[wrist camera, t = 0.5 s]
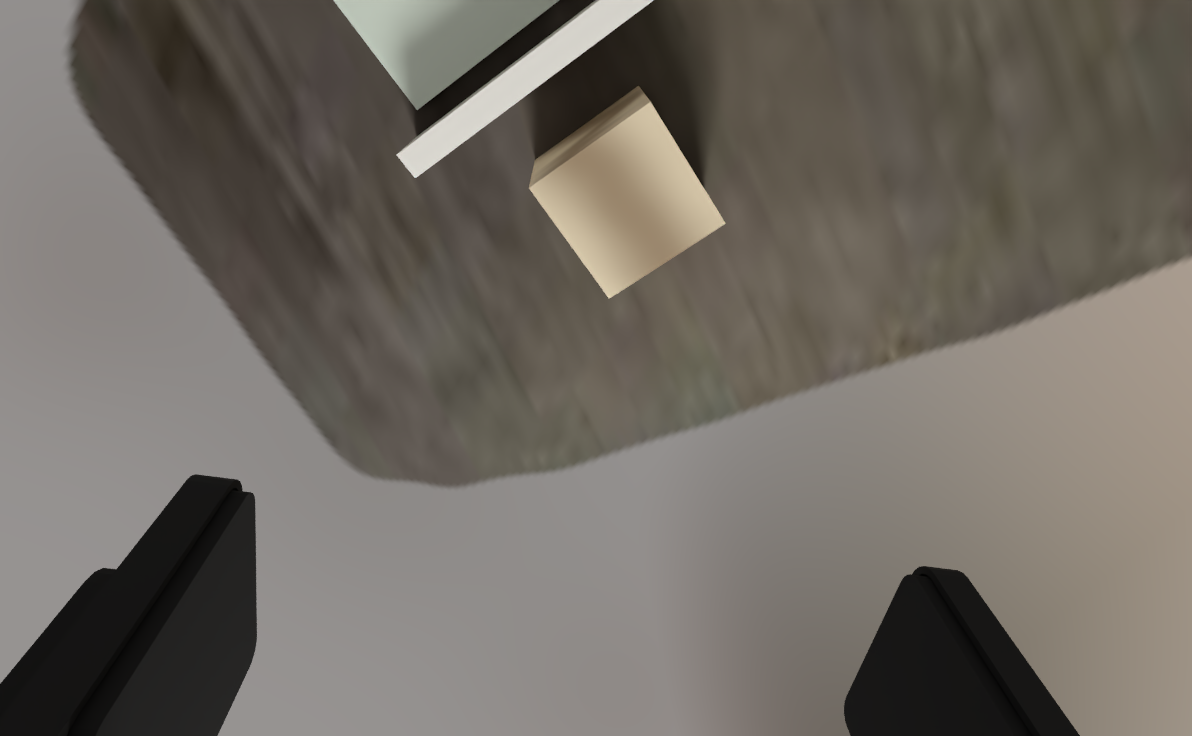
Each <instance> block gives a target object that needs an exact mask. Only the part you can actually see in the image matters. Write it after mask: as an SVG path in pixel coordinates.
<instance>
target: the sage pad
mask: <svg viewBox="0 0 1192 736" xmlns="http://www.w3.org/2000/svg"><path fill="white" fill-rule="evenodd" d="M558 1H559V0H334V2H335V3H336V4H337V5H338V7H339V8H340V9H341V11H342V12H343V13H344V15H345V16H346V17H347V19H348V20H349V21H350V23H351V24H352V25H353V27H354V28H355V29H356V30H357V32H358V33H359V34H360V36H361V37H362V38H363V40H364V41H365V42H366V44H367V45H368V46H369V48H370V49H371V50H372V52H373V53H374V54H375V56H376V57H377V58H378V59H379V61H380V62H381V63H382V65H383V66H384V67H385V69H386V70H387V71H388V73H389V74H390V75H391V77H392V78H393V79H394V81H395V82H396V83H397V84H398V86H399V87H400V88H401V90H402V91H403V92H404V94H405V95H406V96H407V98H408V99H409V100H410V102H411V103H412V104H413V106H414V107H415V108H416V109H417V110H418V109H419V108H421V107H422V106H423V105H425V104H426V103H427V102H428V101H430V100H431V99H432V98H434V97H435V96H436V95H438V94H439V93H440V92H441V91H443V90H444V89H445V88H447V87H448V86H449V85H450V84H452V83H453V82H454V81H456V80H457V79H458V78H459V77H461V76H462V75H463V74H465V73H466V72H467V71H469V70H470V69H471V68H472V67H474V66H475V65H476V64H478V63H479V62H480V61H481V60H483V59H484V58H485V57H487V56H488V55H489V54H491V53H492V52H493V51H494V50H496V49H497V48H498V47H500V46H501V45H502V44H503V43H505V42H506V41H507V40H509V39H510V38H511V37H512V36H514V35H515V34H516V33H518V32H519V31H520V30H522V29H523V28H524V27H525V26H527V25H528V24H529V23H531V22H532V21H533V20H534V19H536V18H537V17H538V16H540V15H541V14H542V13H544V12H545V11H546V10H547V9H549V8H550V7H551V6H553V5H554V4H555V3H556V2H558Z"/></svg>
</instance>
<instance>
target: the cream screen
mask: <svg viewBox="0 0 1192 736" xmlns="http://www.w3.org/2000/svg"><path fill="white" fill-rule="evenodd" d="M652 1H653V0H595V1H594V2H592V3H591V4H590V5H588V6H587V7H586V8H584V9H583V10H582V11H580V12H579V13H578V14H577V15H575V16H574V17H573V18H571V19H570V20H569V21H567V22H566V23H565V24H563V25H562V26H561V27H560V28H558V29H557V30H556V31H554V32H553V33H552V34H550V35H549V36H548V37H546V38H545V39H544V40H542V41H541V42H540V43H539V44H537V45H536V46H535V47H533V48H532V49H531V50H529V51H528V52H527V53H525V54H524V55H523V56H522V57H520V58H519V59H518V60H516V61H515V62H514V63H512V64H511V65H510V66H508V67H507V68H506V69H504V70H503V71H502V72H501V73H499V74H498V75H497V76H495V77H494V78H493V79H491V80H490V81H489V82H487V83H486V84H485V85H484V86H482V87H481V88H480V89H478V90H477V91H476V92H474V93H473V94H472V95H470V96H469V97H468V98H466V99H465V100H464V101H463V102H461V103H460V104H459V105H457V106H456V107H455V108H453V109H452V110H451V111H449V112H448V113H447V114H446V115H444V116H443V117H442V118H440V119H439V120H438V121H436V122H435V123H434V124H432V125H431V126H430V127H428V128H427V129H426V130H425V131H423V132H422V133H421V134H419V135H418V136H417V137H416V138H414V139H413V140H412V141H411V142H410V143H409V144H408V145H407V146H406V147H405V148H403V149H402V150H401V151H400V152H399V153H398V154H397V156H398V157H399V159H400V160H401V161H402V162H403V164H404V165H405V166H406V167H407V169H408V170H409V171H410V173H411V174H412V175H413V176H414V178H416V177H418V176H419V175H420V174H422V173H423V172H424V171H426V170H427V169H428V168H430V167H431V166H432V165H434V164H435V163H436V162H438V161H439V160H440V159H442V158H443V157H444V156H446V155H447V154H448V153H450V152H451V151H452V150H454V149H455V148H457V147H458V146H459V145H461V144H462V143H463V142H465V141H466V140H467V139H469V138H470V137H471V136H473V135H474V134H475V133H477V132H478V131H479V130H481V129H482V128H483V127H485V126H486V125H487V124H489V123H490V122H491V121H493V120H494V119H495V118H497V117H498V116H499V115H501V114H502V113H503V112H505V111H506V110H507V109H509V108H510V107H511V106H513V105H514V104H515V103H517V102H518V101H519V100H521V99H522V98H524V97H525V96H526V95H528V94H529V93H530V92H532V91H533V90H534V89H536V88H537V87H538V86H540V85H541V84H542V83H544V82H545V81H546V80H548V79H549V78H550V77H552V76H553V75H554V74H556V73H557V72H558V71H560V70H561V69H562V68H564V67H565V66H566V65H568V64H569V63H570V62H572V61H573V60H574V59H576V58H577V57H578V56H580V55H581V54H582V53H584V52H585V51H586V50H588V49H589V48H590V47H592V46H593V45H595V44H596V43H597V42H599V41H600V40H601V39H603V38H604V37H605V36H607V35H608V34H609V33H611V32H612V31H613V30H615V29H616V28H617V27H619V26H620V25H621V24H623V23H624V22H625V21H627V20H628V19H629V18H631V17H632V16H633V15H635V14H636V13H637V12H639V11H640V10H641V9H643V8H644V7H645V6H647V5H648V4H649V3H651V2H652Z"/></svg>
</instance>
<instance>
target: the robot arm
mask: <svg viewBox="0 0 1192 736" xmlns="http://www.w3.org/2000/svg"><path fill="white" fill-rule="evenodd" d="M256 622H257V617H256V533H255V497H254V495H253V493H251V492H243V491H242V485H241V483H240V481H238V480H235V479H228V478H220V477H211V476H204V475H192V476H191V477H190V478H188V479H187V480H186V482H185V483H184V484H183V486H182V487H181V488H180V490H179V491H178V492H177V493H176V494H175V496H174V497H173V498H172V500H171V501H170V502H169V503H168V505H167V506H166V507H165V508H164V510H163V511H162V512H161V514H160V515H159V516H158V518H157V519H156V520H155V521H154V522H153V524H152V525H151V526H150V528H149V529H148V530H147V531H146V533H145V534H144V535H143V536H142V538H141V539H140V540H139V541H138V543H137V544H136V545H135V547H134V548H133V549H132V550H131V552H130V553H129V554H128V556H127V557H126V558H125V559H124V561H123V562H122V563H121V564H120V566H119V567H118V568H117V569H107V568H102V569H100V570H98V571H96V572H94V573H93V574H92V575H91V576H90V577H89V578H88V579H87V580H86V581H85V582H84V583H83V585H82V586H81V587H80V588H79V589H78V590H77V592H76V593H75V594H74V595H73V596H72V598H71V599H70V600H69V601H68V603H67V604H66V605H65V606H64V607H63V609H62V610H61V611H60V612H59V613H58V615H57V616H56V617H55V618H54V620H53V621H52V622H51V623H50V624H49V626H48V627H47V628H46V629H45V630H44V632H43V633H42V634H41V635H40V637H39V638H38V639H37V640H36V641H35V643H34V644H33V645H32V646H31V647H30V649H29V650H28V651H27V652H26V653H25V655H24V656H23V657H22V658H21V660H20V661H19V662H18V663H17V664H16V666H15V667H14V668H13V669H12V670H11V672H10V673H9V674H8V675H7V677H6V678H5V679H4V680H3V682H2V683H1V684H0V736H217V735H218V733H219V731H220V729H221V727H222V725H223V723H224V720H225V718H226V716H227V714H228V712H229V710H230V708H231V706H232V703H233V701H234V699H235V697H236V695H237V693H238V691H239V688H240V686H241V684H242V682H243V680H244V678H245V676H246V674H247V671H248V669H249V667H250V665H251V662H252V659H253V656H254V652H255V647H256V640H257V623H256ZM844 714H845V715H844V716H845V721H846V724H847V727H848V730H849V732H850V735H851V736H1080V735H1079V734H1078V733H1077V731H1076V730H1075V729H1074V727H1073V725H1072V724H1071V723H1070V721H1069V720H1068V718H1067V717H1066V716H1065V714H1064V713H1063V711H1062V710H1061V709H1060V707H1059V706H1058V704H1057V703H1056V701H1055V700H1054V699H1053V697H1052V696H1051V694H1050V693H1049V692H1048V690H1047V689H1046V687H1045V686H1044V685H1043V683H1042V682H1041V680H1040V679H1039V678H1038V676H1037V675H1036V673H1035V672H1034V670H1033V669H1032V668H1031V666H1030V665H1029V664H1028V663H1027V661H1026V659H1025V658H1024V656H1023V655H1022V654H1021V652H1020V651H1019V649H1018V648H1017V647H1016V645H1015V644H1014V642H1013V641H1012V640H1011V638H1010V637H1009V635H1008V634H1007V632H1006V631H1005V630H1004V628H1003V627H1002V626H1001V624H1000V623H999V621H998V620H997V618H996V617H995V616H994V614H993V613H992V611H991V610H990V609H989V607H988V606H987V604H986V603H985V602H984V600H983V599H982V597H981V596H980V595H979V593H978V592H977V590H976V589H975V587H974V586H973V585H972V583H971V582H970V581H969V579H968V578H967V577H966V576H965V575H964V573H962V572H960V571H958V570H950V569H941V568H934V567H926V566H923V567H919V568H917V569H916V570H915V571H914V572H913V574H912V575H907V576H905V577H904V578H903V579H902V581H901V583H900V585H899V587H898V589H897V591H896V593H895V596H894V598H893V600H892V602H891V604H890V606H889V608H888V610H887V613H886V615H885V617H884V619H883V621H882V623H881V625H880V627H879V629H878V631H877V634H876V636H875V638H874V640H873V642H872V644H871V646H870V648H869V650H868V653H867V654H866V656H865V659H864V661H863V663H862V665H861V667H860V669H859V671H858V673H857V676H856V678H855V680H854V682H853V684H852V686H851V688H850V690H849V693H848V695H847V697H846V700H845V705H844Z"/></svg>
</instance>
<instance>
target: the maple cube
mask: <svg viewBox="0 0 1192 736" xmlns="http://www.w3.org/2000/svg"><path fill="white" fill-rule="evenodd" d="M529 189H530V190H531V192H532V193H533V194H534V196H535V197H536V198H537V200H538V201H539V203H540V204H541V205H542V207H543V208H544V210H545V211H546V212H547V214H548V215H549V216H550V218H551V219H552V221H553V222H554V223H555V225H556V226H557V227H558V229H559V230H560V232H561V233H562V234H563V236H564V237H565V238H566V240H567V241H568V243H569V244H570V245H571V247H572V248H573V249H574V251H575V252H576V254H577V255H578V256H579V258H580V259H581V260H582V262H583V263H584V265H585V266H586V267H587V269H588V270H589V272H590V273H591V274H592V276H593V277H594V278H595V280H596V281H597V283H598V284H599V285H600V287H601V288H602V289H603V291H604V292H605V294H606V295H607V296H608V298H609V299H610V298H611V297H613V296H614V295H616V294H617V293H619V292H620V291H622V290H624V289H625V288H627V287H628V286H630V285H631V284H633V283H634V282H636V281H637V280H639V279H641V278H642V277H644V276H645V275H647V274H648V273H650V272H651V271H653V270H654V269H656V268H658V267H659V266H661V265H662V264H664V263H665V262H667V261H668V260H670V259H672V258H673V257H675V256H676V255H678V254H679V253H681V252H682V251H684V250H685V249H687V248H689V247H690V246H692V245H693V244H695V243H696V242H698V241H699V240H701V239H702V238H704V237H706V236H707V235H709V234H710V233H712V232H713V231H715V230H716V229H718V228H719V227H721V226H723V225H724V224H726V223H725V222H724V220H723V219H722V217H721V215H720V214H719V212H718V210H717V209H716V207H715V206H714V204H713V202H712V201H711V199H710V197H709V196H708V194H707V193H706V191H705V189H704V188H703V186H702V184H701V183H700V181H699V180H698V178H697V176H696V175H695V173H694V171H693V170H692V168H691V167H690V165H689V163H688V162H687V160H686V158H685V157H684V155H683V154H682V152H681V150H680V149H679V147H678V145H677V144H676V142H675V141H674V139H673V137H672V136H671V134H670V132H669V131H668V129H667V128H666V126H665V124H664V123H663V121H662V119H661V118H660V116H659V115H658V113H657V111H656V110H655V108H654V106H653V105H652V103H651V102H650V100H649V99H648V98H647V96H646V95H645V94H644V92H643V91H642V90H641V88H640V87H639V86H637V87H636V88H635V89H633V90H632V91H630V92H629V93H628V94H626V95H625V96H623V97H622V98H621V99H619V100H618V101H616V102H615V103H614V104H612V105H611V106H610V107H608V108H607V109H605V110H604V111H603V112H601V113H600V114H598V115H597V116H596V117H594V118H593V119H591V120H590V121H589V122H587V123H586V124H584V125H583V126H582V127H580V128H579V129H577V130H576V131H575V132H573V133H572V134H571V135H569V136H568V137H566V138H565V139H564V140H562V141H561V142H559V143H558V144H557V145H555V146H554V147H552V148H551V149H550V150H548V151H547V152H545V153H544V154H543V155H541V156H540V157H539V158H537V159H536V160H535V163H534V167H533V172H532V176H531V181H530V185H529Z"/></svg>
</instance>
